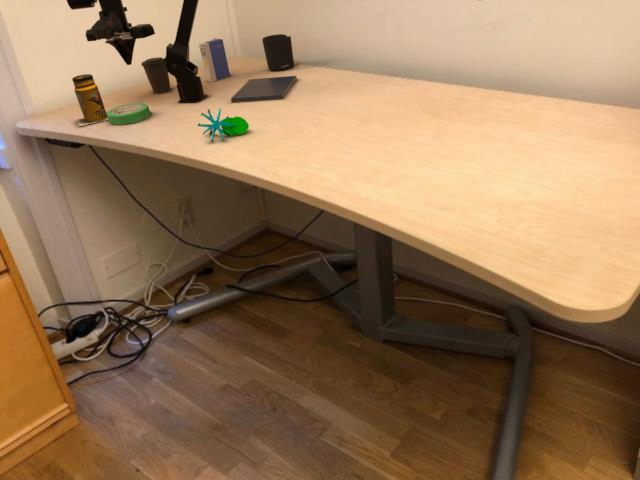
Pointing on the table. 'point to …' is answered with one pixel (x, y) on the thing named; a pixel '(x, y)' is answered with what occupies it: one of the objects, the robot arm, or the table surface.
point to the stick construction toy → (225, 125)
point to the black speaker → (278, 52)
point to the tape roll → (128, 114)
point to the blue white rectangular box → (214, 59)
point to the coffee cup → (157, 75)
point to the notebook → (264, 89)
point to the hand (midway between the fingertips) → (129, 64)
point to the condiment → (89, 100)
